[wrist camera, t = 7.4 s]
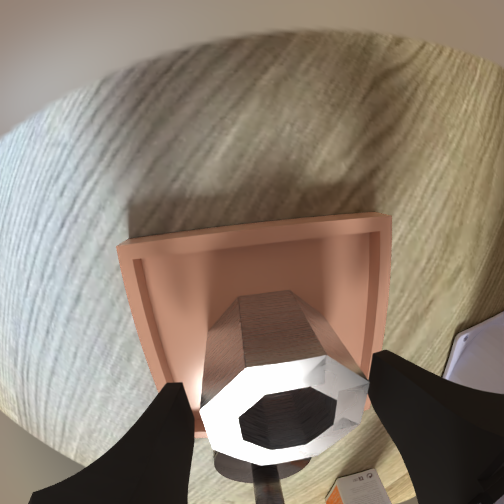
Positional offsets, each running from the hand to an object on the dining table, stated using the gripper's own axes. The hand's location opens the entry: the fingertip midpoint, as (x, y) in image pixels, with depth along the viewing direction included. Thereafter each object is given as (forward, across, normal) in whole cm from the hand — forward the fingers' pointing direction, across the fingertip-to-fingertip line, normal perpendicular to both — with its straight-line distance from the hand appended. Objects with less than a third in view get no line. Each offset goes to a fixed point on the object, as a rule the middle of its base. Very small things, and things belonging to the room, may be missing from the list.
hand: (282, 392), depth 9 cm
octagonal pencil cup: (+3, 0, 0) cm, 3 cm away
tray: (+4, 0, 0) cm, 4 cm away
